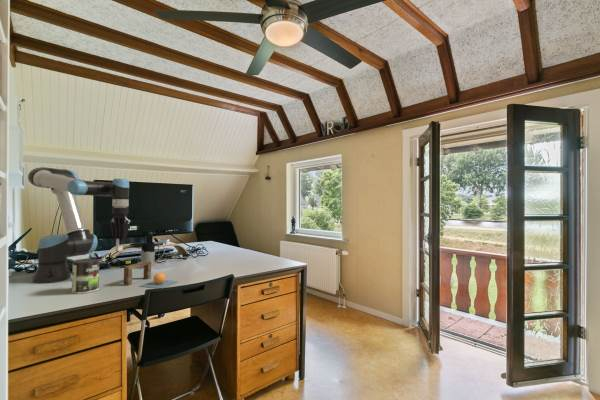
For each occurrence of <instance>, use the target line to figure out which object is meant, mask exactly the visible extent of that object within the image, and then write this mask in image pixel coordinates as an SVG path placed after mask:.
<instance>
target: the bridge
mask: <svg viewBox="0 0 600 400" xmlns="http://www.w3.org/2000/svg"><path fill="white" fill-rule="evenodd" d="M140 266H144V269H143V280H149V279H151V278H152V268H151V262H150V261H145V262H141V261H140V262H138V263H133V264H129V265H126V266H123V286H131V285H132V282H133V281H132V280H133V269H136V268H140Z"/></svg>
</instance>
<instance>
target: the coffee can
mask: <svg viewBox="0 0 600 400" xmlns="http://www.w3.org/2000/svg"><path fill="white" fill-rule="evenodd" d="M71 278H72V279H71V293H72V294H74V295H76V294H77V295H81V294H82V295H83V294H89V293H93V292H96V291H98V290H99V289H100V288H99V286H100V285H99V282H100V258H83V259H75V260H73V261H72V272H71Z"/></svg>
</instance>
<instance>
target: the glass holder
mask: <svg viewBox="0 0 600 400" xmlns="http://www.w3.org/2000/svg"><path fill="white" fill-rule="evenodd" d="M161 246H162V247H163V248H164V251H163V253H162V255H161V256H160V257H158V259H156V257H155V256H156V253H157V252H159V248H160V247H161ZM155 247H156V243H155V242H145V243H141V250H140V253H141V254H140V263H141V262H145V261H150V262H151V269H153V268H156V265H155V264H156V263H157V262H158V261H159V260H160V259H162V257H164V255H165V252H166V247H165V246H164V245H163V244H160V245H159V246H158V247H157V250H155ZM155 260H156V261H155ZM139 269H143V270H144V266H140V267H139Z"/></svg>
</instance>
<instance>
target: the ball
mask: <svg viewBox="0 0 600 400" xmlns="http://www.w3.org/2000/svg"><path fill="white" fill-rule="evenodd" d="M165 280H166V275H165V274H164V273H163V272H162V273H160V272H157V273H156V274H155V275H154V276H153V280H152V281H154V282H155V283H156V284H162V283H163V282H164V281H165Z"/></svg>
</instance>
